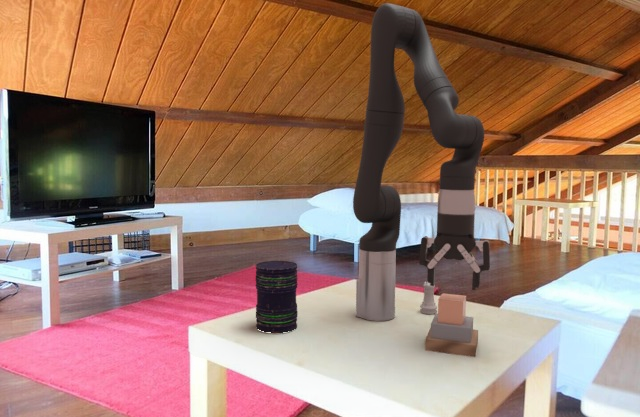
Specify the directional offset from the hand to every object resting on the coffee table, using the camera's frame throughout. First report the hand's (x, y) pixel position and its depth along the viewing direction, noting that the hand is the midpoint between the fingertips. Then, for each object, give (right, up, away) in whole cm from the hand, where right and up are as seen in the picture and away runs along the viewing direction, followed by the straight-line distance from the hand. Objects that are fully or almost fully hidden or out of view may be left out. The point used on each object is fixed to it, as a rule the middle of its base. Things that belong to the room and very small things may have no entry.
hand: (453, 287), depth 102 cm
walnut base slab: (0, -13, +1) cm, 13 cm away
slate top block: (0, -10, +1) cm, 10 cm away
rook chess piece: (0, -11, +24) cm, 27 cm away
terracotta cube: (0, -7, 0) cm, 7 cm away
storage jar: (-38, -12, +12) cm, 42 cm away
